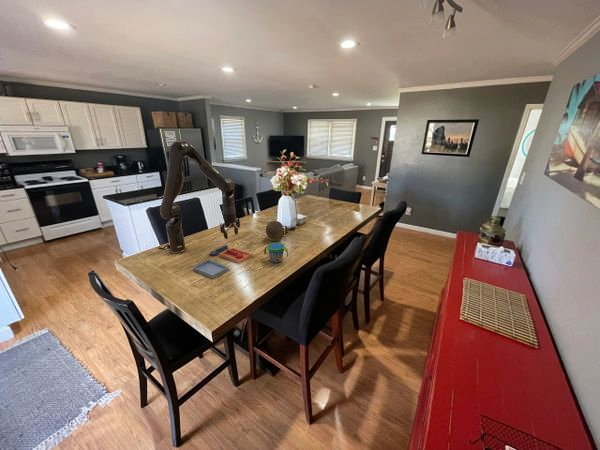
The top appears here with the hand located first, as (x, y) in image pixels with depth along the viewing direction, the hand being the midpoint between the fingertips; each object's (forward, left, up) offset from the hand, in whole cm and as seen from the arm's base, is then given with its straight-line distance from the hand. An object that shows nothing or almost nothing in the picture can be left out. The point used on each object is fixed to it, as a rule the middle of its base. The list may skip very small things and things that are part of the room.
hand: (231, 236), depth 152 cm
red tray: (+3, 0, -14) cm, 14 cm away
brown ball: (+8, +35, -14) cm, 39 cm away
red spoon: (+2, 0, -13) cm, 14 cm away
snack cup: (+28, +10, -14) cm, 33 cm away
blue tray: (+3, -20, -14) cm, 24 cm away
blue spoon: (-12, -2, -14) cm, 18 cm away
